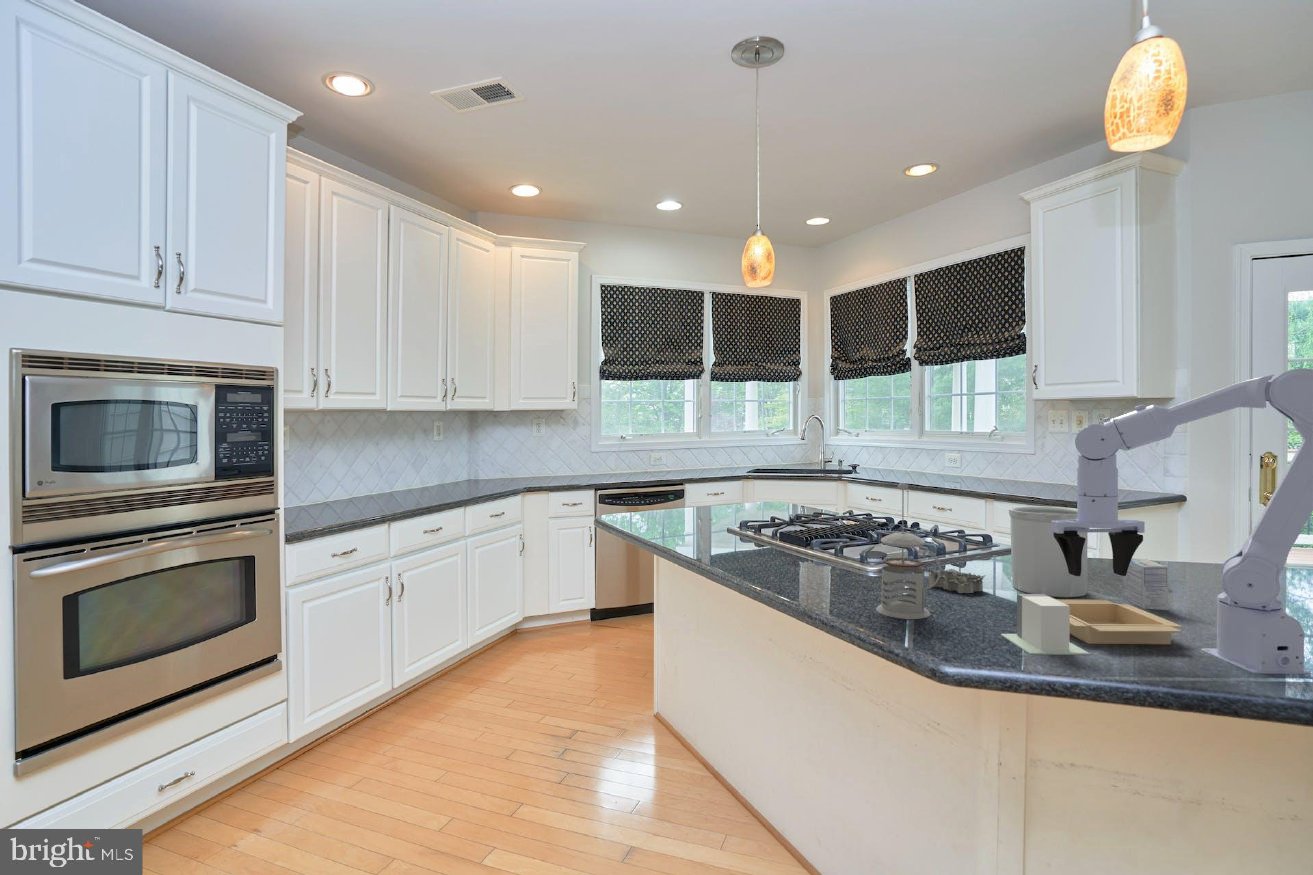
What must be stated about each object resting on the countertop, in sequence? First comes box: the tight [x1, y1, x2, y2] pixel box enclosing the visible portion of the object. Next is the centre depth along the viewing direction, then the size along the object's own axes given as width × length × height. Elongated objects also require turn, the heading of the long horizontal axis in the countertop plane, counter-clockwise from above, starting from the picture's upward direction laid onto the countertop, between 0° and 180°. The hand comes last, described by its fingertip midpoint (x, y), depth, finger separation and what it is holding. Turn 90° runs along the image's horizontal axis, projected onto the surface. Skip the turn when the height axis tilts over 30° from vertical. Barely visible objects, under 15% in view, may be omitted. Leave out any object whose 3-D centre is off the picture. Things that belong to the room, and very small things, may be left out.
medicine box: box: [1121, 557, 1169, 611], centre depth 126 cm, size 8×4×9 cm, turn 168°
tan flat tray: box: [1057, 599, 1184, 645], centre depth 110 cm, size 18×17×3 cm
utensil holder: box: [1008, 505, 1089, 598], centre depth 138 cm, size 15×15×18 cm
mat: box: [1000, 633, 1090, 656], centre depth 103 cm, size 9×9×1 cm
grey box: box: [1016, 593, 1071, 650], centre depth 103 cm, size 7×4×7 cm, turn 178°
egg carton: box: [925, 567, 986, 594], centre depth 141 cm, size 11×8×4 cm
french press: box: [875, 482, 942, 620], centre depth 123 cm, size 10×12×25 cm
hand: (1097, 574), depth 109 cm, fingers open, 7 cm apart
